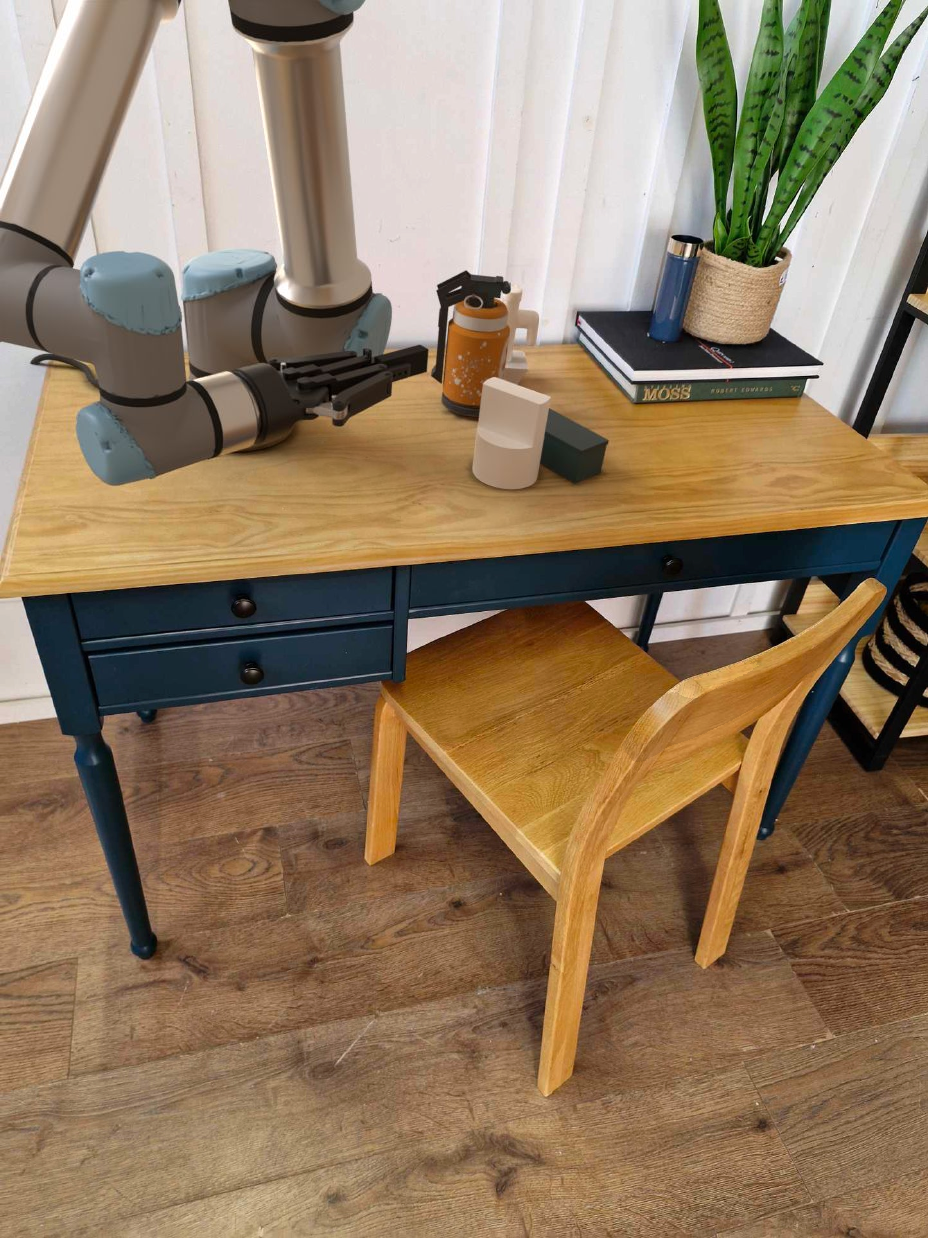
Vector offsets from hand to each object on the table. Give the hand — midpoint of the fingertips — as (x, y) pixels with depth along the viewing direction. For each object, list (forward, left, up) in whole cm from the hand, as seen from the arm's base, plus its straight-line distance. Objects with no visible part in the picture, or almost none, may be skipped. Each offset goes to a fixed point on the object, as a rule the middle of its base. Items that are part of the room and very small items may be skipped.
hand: (423, 358), depth 104 cm
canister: (-18, +25, -20) cm, 37 cm away
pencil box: (0, +25, -20) cm, 32 cm away
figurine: (-22, +37, -20) cm, 48 cm away
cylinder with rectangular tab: (0, +17, -20) cm, 26 cm away
